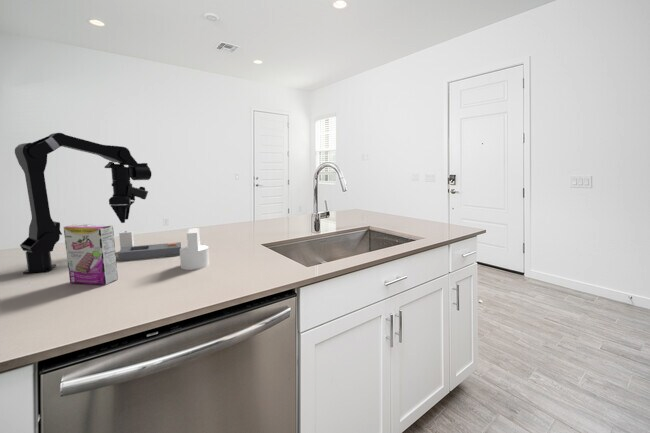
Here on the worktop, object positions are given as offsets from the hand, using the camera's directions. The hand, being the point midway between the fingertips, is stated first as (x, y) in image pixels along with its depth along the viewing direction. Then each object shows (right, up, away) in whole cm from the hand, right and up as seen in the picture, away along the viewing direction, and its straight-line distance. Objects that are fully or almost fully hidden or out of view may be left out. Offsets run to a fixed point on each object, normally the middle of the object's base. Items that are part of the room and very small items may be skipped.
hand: (124, 221), depth 120 cm
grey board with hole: (+15, -13, -1) cm, 19 cm away
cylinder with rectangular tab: (+34, -15, -15) cm, 40 cm away
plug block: (0, -12, +2) cm, 12 cm away
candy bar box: (+11, -17, -31) cm, 37 cm away
